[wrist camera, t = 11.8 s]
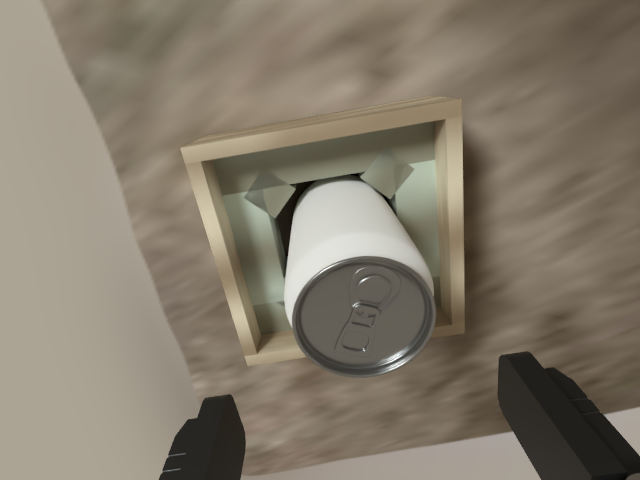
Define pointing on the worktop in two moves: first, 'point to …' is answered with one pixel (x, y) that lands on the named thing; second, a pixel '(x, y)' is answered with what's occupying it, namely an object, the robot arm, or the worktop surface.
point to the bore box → (318, 163)
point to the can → (355, 281)
